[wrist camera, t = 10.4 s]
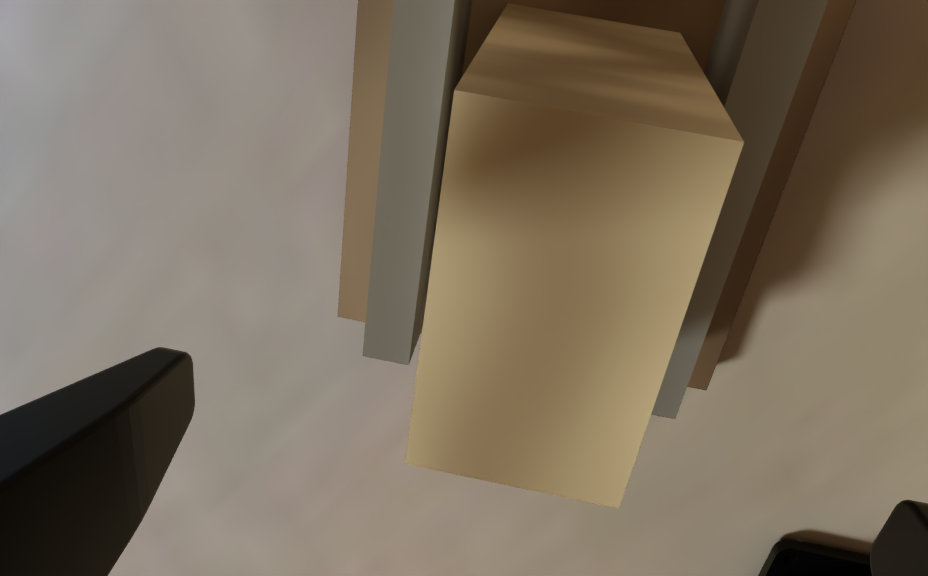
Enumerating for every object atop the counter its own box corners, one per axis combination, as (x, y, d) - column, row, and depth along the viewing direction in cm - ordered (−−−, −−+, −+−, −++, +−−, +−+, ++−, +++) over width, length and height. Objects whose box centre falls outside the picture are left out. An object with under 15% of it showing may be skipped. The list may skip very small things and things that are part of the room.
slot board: (863, -65, 16) (938, -49, 13) (701, 370, 22) (722, 461, 19) (378, -145, 17) (325, -150, 14) (347, 299, 23) (304, 375, 20)
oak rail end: (680, 32, 17) (744, 142, 10) (604, 307, 21) (613, 525, 14) (508, 3, 17) (453, 89, 10) (463, 280, 21) (402, 480, 14)
